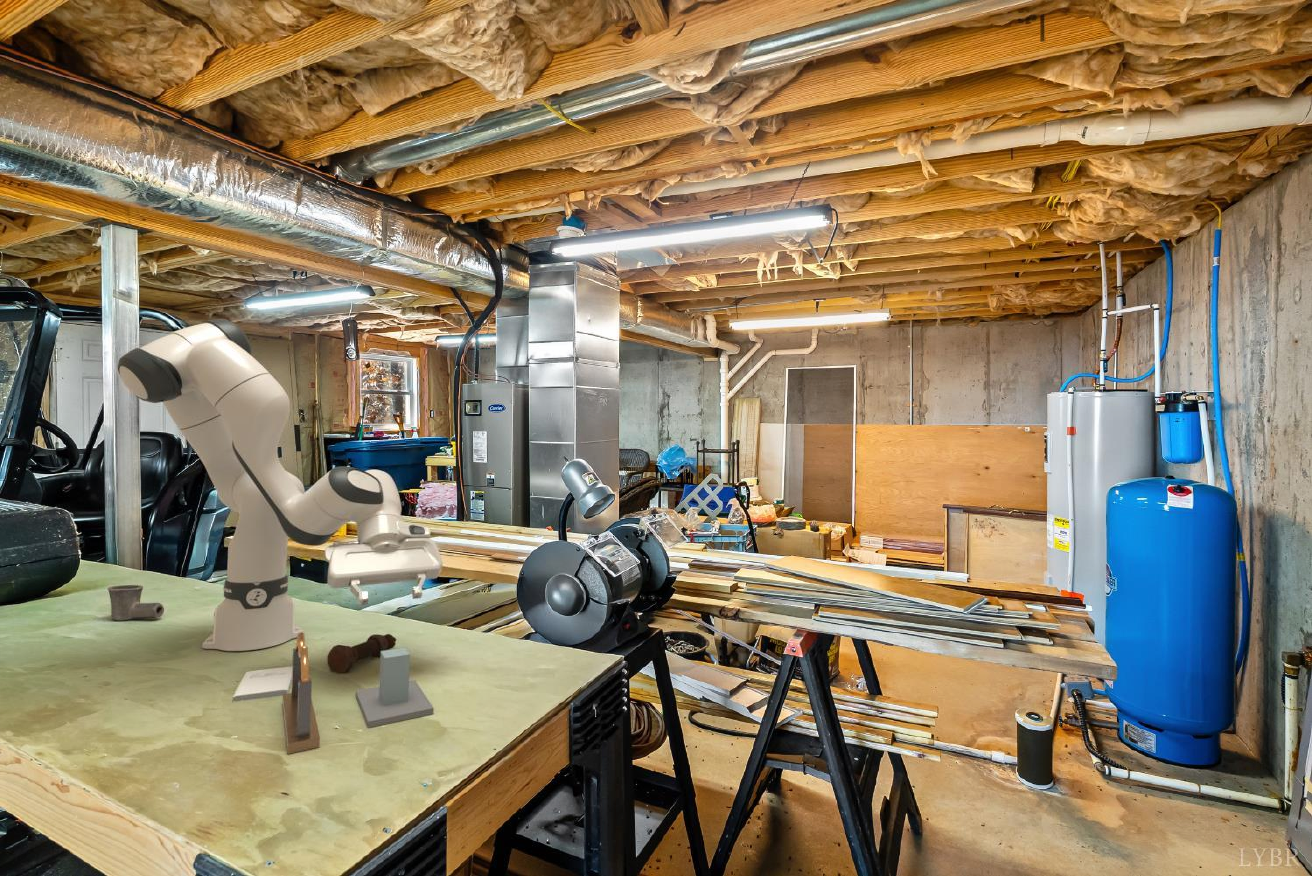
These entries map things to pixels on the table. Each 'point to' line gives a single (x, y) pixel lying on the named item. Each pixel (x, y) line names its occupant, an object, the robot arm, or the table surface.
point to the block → (394, 676)
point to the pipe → (132, 604)
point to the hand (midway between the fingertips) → (391, 599)
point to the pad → (392, 706)
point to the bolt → (358, 652)
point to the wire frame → (300, 704)
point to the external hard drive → (264, 684)
